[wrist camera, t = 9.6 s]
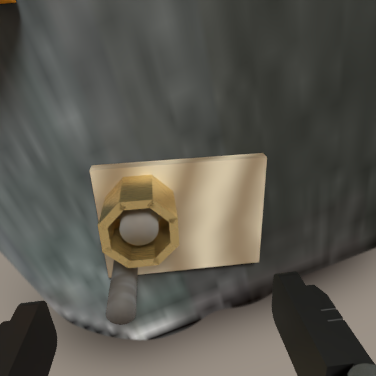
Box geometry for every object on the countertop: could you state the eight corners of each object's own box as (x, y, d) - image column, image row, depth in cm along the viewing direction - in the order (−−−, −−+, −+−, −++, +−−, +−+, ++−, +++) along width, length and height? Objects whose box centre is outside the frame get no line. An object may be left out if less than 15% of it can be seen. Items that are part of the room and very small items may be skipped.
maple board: (262, 153, 30) (300, 189, 23) (255, 255, 35) (284, 311, 28) (91, 165, 29) (72, 208, 21) (110, 270, 34) (99, 334, 26)
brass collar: (172, 172, 29) (176, 197, 24) (175, 231, 31) (180, 262, 27) (102, 178, 28) (93, 204, 24) (112, 237, 31) (105, 270, 26)
